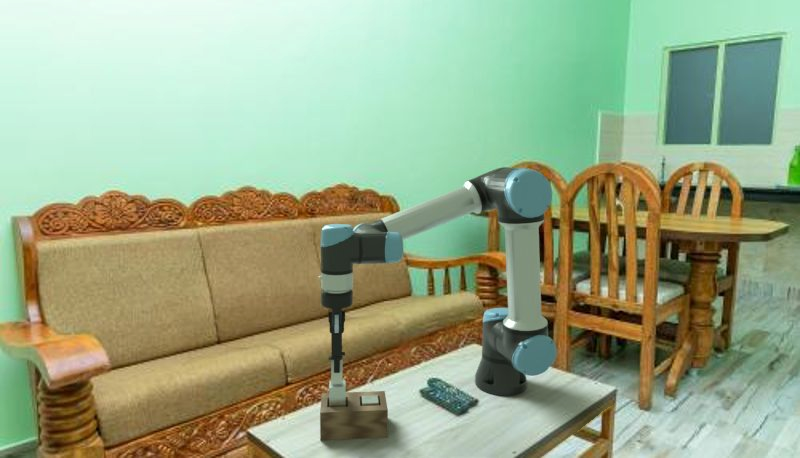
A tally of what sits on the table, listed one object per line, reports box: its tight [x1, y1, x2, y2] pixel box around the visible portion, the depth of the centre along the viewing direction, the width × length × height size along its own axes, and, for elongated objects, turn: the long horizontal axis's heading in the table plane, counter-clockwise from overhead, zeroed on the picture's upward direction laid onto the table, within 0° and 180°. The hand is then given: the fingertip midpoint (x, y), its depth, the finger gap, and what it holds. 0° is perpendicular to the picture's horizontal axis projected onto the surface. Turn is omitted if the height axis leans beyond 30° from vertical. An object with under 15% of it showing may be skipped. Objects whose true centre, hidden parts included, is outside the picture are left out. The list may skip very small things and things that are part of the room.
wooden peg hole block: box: [319, 390, 389, 441], centre depth 129 cm, size 16×10×7 cm, turn 96°
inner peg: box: [362, 395, 379, 406], centre depth 129 cm, size 4×4×6 cm
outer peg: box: [328, 379, 347, 407], centre depth 127 cm, size 4×4×6 cm
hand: (336, 382), depth 127 cm, fingers closed
